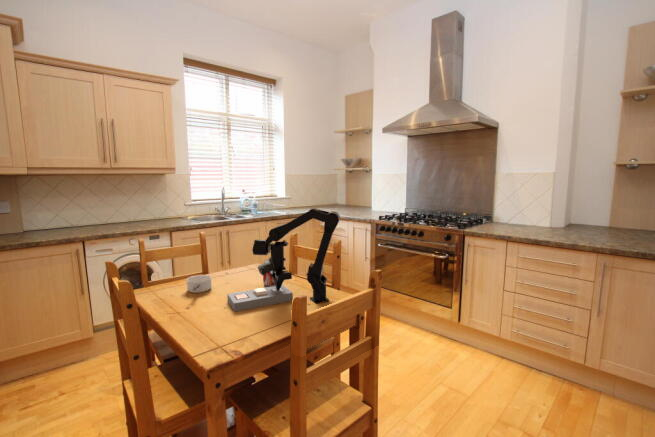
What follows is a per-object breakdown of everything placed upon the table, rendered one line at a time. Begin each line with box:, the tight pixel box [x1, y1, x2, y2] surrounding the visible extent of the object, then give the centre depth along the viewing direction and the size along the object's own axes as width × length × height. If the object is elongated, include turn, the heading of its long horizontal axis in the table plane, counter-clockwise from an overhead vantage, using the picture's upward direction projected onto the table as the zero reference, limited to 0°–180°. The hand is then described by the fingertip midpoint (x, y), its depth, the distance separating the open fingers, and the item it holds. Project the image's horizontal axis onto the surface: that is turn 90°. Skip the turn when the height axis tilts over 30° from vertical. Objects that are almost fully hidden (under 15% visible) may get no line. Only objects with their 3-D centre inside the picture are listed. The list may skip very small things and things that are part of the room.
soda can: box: [262, 259, 275, 287], centre depth 161 cm, size 7×7×12 cm
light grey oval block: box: [185, 274, 212, 294], centre depth 149 cm, size 12×20×6 cm, turn 14°
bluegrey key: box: [271, 288, 284, 293], centre depth 143 cm, size 4×4×2 cm
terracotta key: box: [235, 294, 248, 300], centre depth 135 cm, size 4×4×2 cm
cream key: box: [253, 287, 267, 296], centre depth 139 cm, size 4×4×2 cm
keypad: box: [227, 284, 294, 313], centre depth 139 cm, size 12×25×4 cm, turn 119°
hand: (278, 290), depth 143 cm, fingers closed, pressing on bluegrey key
